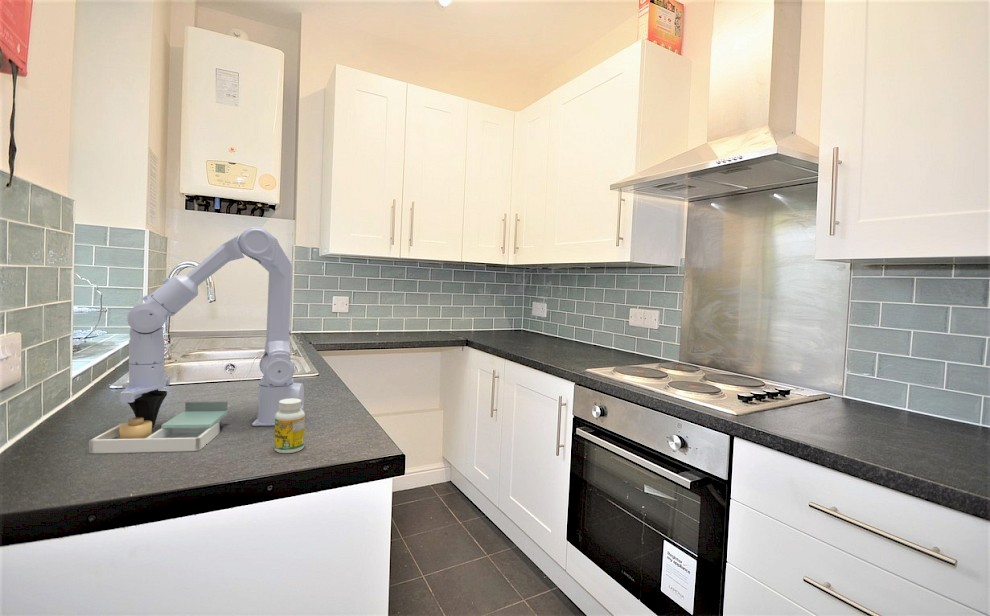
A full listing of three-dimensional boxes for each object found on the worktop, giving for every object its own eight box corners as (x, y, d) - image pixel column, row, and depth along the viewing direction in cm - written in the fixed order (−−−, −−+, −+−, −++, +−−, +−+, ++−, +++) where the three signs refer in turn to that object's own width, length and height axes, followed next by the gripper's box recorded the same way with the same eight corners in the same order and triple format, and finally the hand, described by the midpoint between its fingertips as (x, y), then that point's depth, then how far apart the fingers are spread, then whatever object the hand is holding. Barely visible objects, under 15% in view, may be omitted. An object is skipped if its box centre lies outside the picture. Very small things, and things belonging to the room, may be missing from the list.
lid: (229, 412, 103) (229, 400, 103) (210, 427, 93) (210, 414, 92) (185, 412, 101) (185, 401, 101) (161, 428, 91) (161, 415, 91)
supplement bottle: (310, 447, 91) (311, 400, 91) (286, 456, 87) (287, 406, 86) (292, 442, 94) (293, 395, 93) (268, 450, 89) (269, 401, 89)
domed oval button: (157, 436, 93) (157, 415, 93) (142, 445, 88) (142, 422, 88) (129, 437, 92) (129, 415, 92) (113, 446, 87) (113, 423, 87)
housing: (219, 433, 97) (219, 422, 97) (199, 450, 87) (199, 438, 87) (121, 434, 93) (121, 423, 93) (89, 453, 83) (88, 440, 83)
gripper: (144, 355, 99) (144, 417, 100) (101, 369, 85) (101, 441, 86) (180, 356, 101) (180, 417, 101) (144, 369, 86) (144, 440, 87)
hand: (146, 428), depth 94 cm, fingers closed
